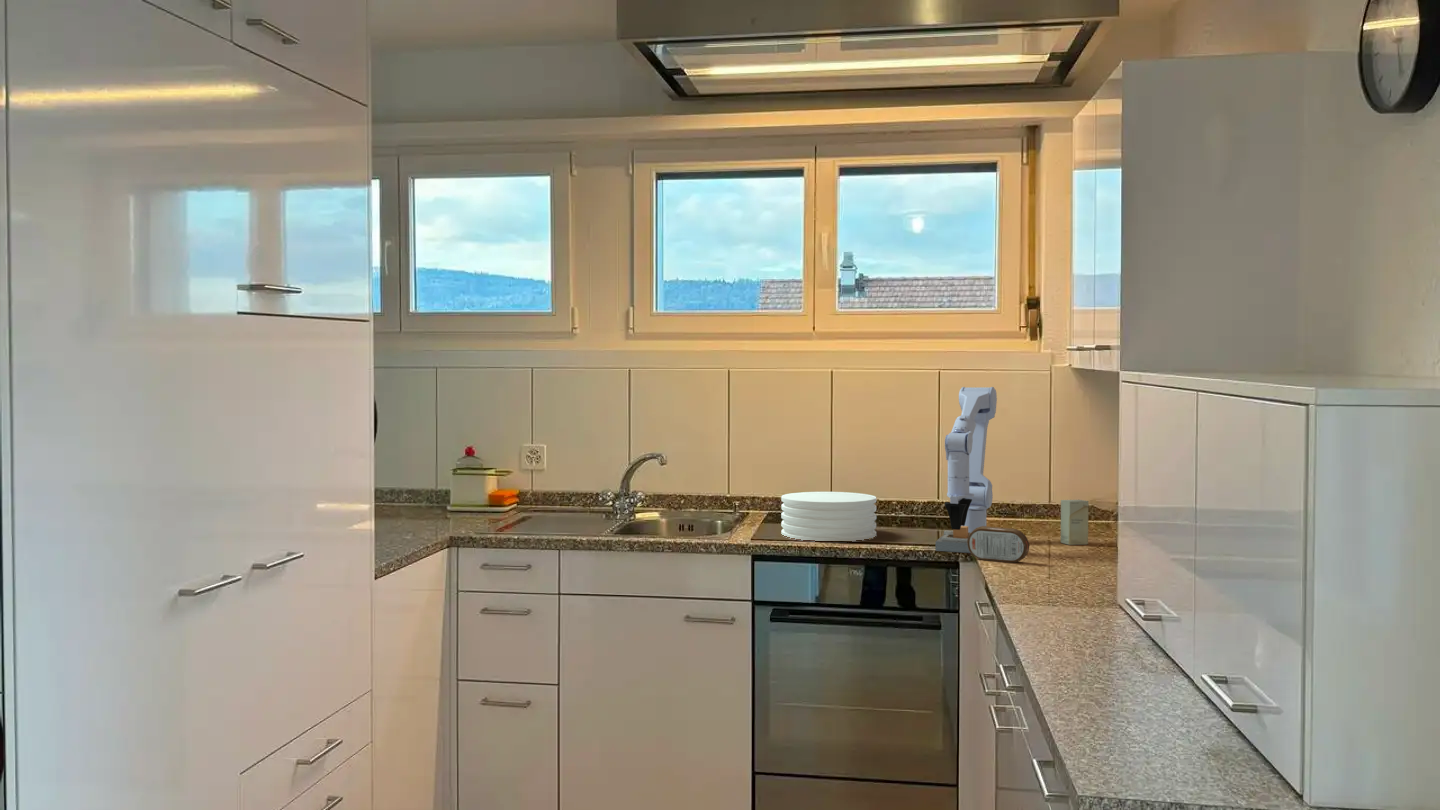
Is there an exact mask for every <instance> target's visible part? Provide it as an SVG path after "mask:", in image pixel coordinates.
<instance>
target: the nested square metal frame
mask: <svg viewBox="0 0 1440 810" xmlns="http://www.w3.org/2000/svg"><path fill="white" fill-rule="evenodd" d="M970 533H971V532H968V537H969V535H970ZM967 540H968V538H953V530H947V529H946V530H944V531H943V535H942V536H940V537H939V538H938V539H937V540H936V541H935V552H948V553H964V554H971V553H970V551H969V549H968V545H967Z"/></svg>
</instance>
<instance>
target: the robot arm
mask: <svg viewBox="0 0 1440 810" xmlns="http://www.w3.org/2000/svg"><path fill="white" fill-rule="evenodd" d="M997 396H998V395H997V390H996V389H995V387H994V386H990V387H988V386H987V387H985V386H984V387H981V386H980V387H966V386H961V388H960V389H959V392H958V402H959V403H958V404H959V407H960V410H961V415H959V416H957V418H956V417H955V421H954V423H953V426H952V429H951V431H950V432H949V433H948V434H946V435H945V438H944V449H945V460H946V461H947V492H946V497H947V498H949V502H944V507H945V509H946V511H947V514H948V517H949V522H950V527H951V530H953V529H955V530H960V528H961V526H968V532H972V531H973V530H974V529H976V528H978V527H981V526H987V510H988V509H990V507H992V504H993V484H992V481H991V480H990V479H989V478H987V477H986V476H985V475H984V471H985V470H984V469H985V459H986V447H987V446H986V445H987V436H988V435H987V434H988V427H989V423H990V420H992V419H993V418H995V416H996V413H997V403H998V401H997V400H998V397H997Z"/></svg>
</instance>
